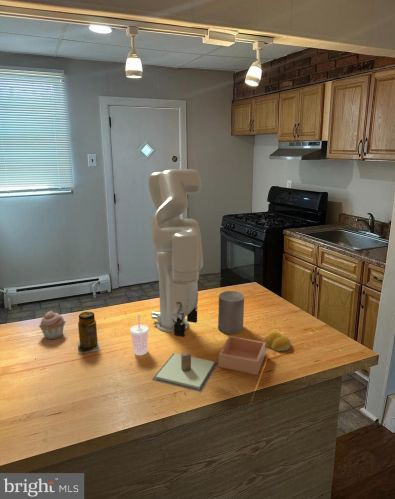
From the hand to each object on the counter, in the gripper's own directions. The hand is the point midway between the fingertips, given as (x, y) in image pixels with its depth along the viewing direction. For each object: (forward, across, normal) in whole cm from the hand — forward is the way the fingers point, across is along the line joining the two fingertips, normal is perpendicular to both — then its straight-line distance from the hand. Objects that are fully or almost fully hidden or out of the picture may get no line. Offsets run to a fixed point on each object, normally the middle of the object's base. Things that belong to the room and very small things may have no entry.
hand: (186, 328), depth 112 cm
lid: (+15, 0, 0) cm, 15 cm away
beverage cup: (+15, -6, -19) cm, 25 cm away
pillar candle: (+15, -34, +5) cm, 37 cm away
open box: (+15, -12, +15) cm, 25 cm away
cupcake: (+15, -4, -55) cm, 57 cm away
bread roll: (+16, -28, +24) cm, 39 cm away
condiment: (+15, -2, -38) cm, 41 cm away
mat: (+15, 0, 0) cm, 15 cm away
